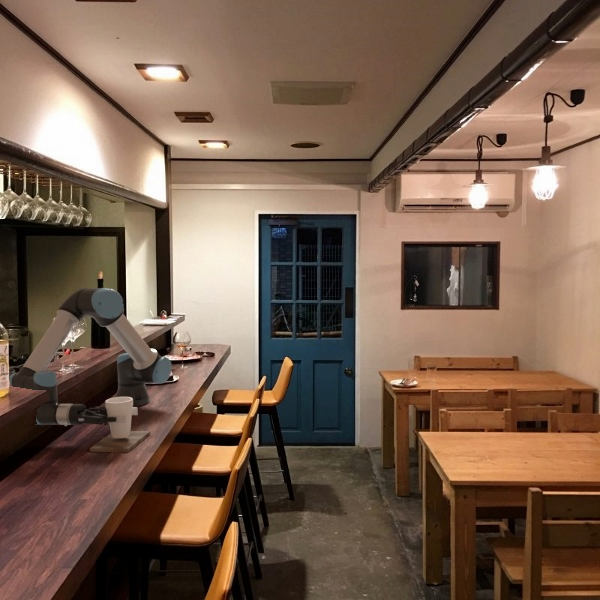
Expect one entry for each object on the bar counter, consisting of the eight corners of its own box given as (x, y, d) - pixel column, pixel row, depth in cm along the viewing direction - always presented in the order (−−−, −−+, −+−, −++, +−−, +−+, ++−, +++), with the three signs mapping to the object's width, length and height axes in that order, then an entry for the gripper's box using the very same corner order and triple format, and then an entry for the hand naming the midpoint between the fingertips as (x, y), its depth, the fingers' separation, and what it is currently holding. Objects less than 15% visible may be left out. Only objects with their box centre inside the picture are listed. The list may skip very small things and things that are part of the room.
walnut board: (114, 433, 230) (114, 430, 230) (150, 434, 228) (150, 431, 228) (89, 451, 210) (89, 448, 210) (128, 452, 209) (128, 448, 208)
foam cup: (106, 440, 213) (104, 404, 212) (107, 433, 222) (105, 398, 221) (134, 437, 216) (132, 401, 215) (134, 430, 225) (132, 395, 224)
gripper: (87, 416, 232) (143, 416, 229) (57, 433, 210) (119, 434, 207) (86, 396, 231) (143, 397, 228) (56, 412, 210) (118, 412, 207)
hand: (131, 415), depth 218 cm, fingers closed on foam cup, 9 cm apart
